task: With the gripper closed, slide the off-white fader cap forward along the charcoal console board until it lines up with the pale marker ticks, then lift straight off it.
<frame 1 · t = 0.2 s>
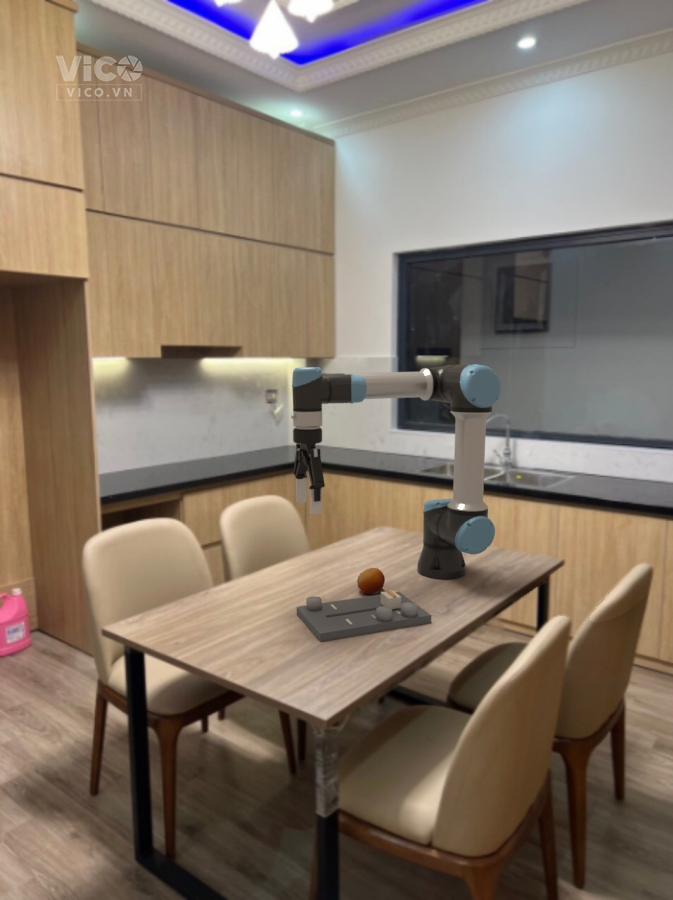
hand: (308, 507, 170), 28 cm above the table, fingers open, 13 cm apart
console: (362, 618, 167), on the table
fader: (390, 598, 169), point 4 cm above the table, slide at 0.0 cm
fruit: (370, 592, 186), on the table
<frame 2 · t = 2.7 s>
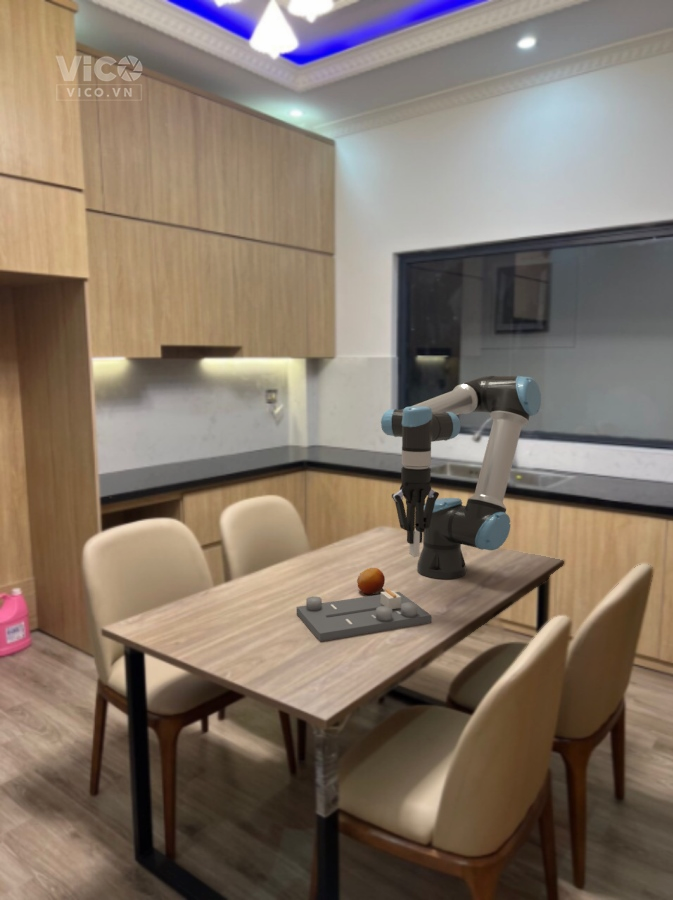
hand: (414, 555, 170), 15 cm above the table, fingers closed
nothing on the table moved.
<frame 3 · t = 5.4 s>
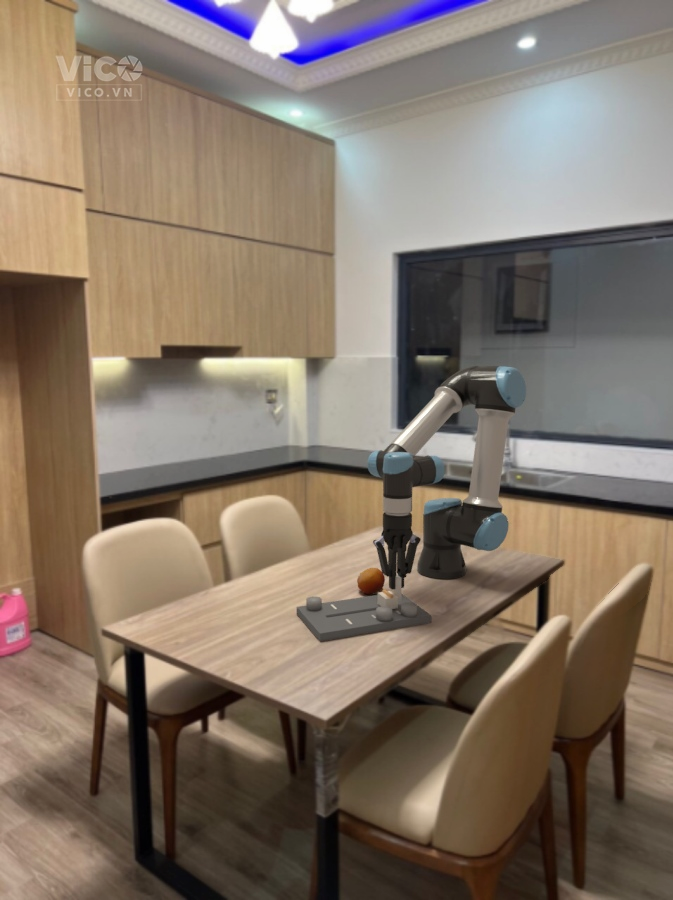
hand: (396, 600, 170), 4 cm above the table, fingers closed
fader: (387, 599, 169), point 4 cm above the table, slide at 0.9 cm, touching gripper
everything else where it was.
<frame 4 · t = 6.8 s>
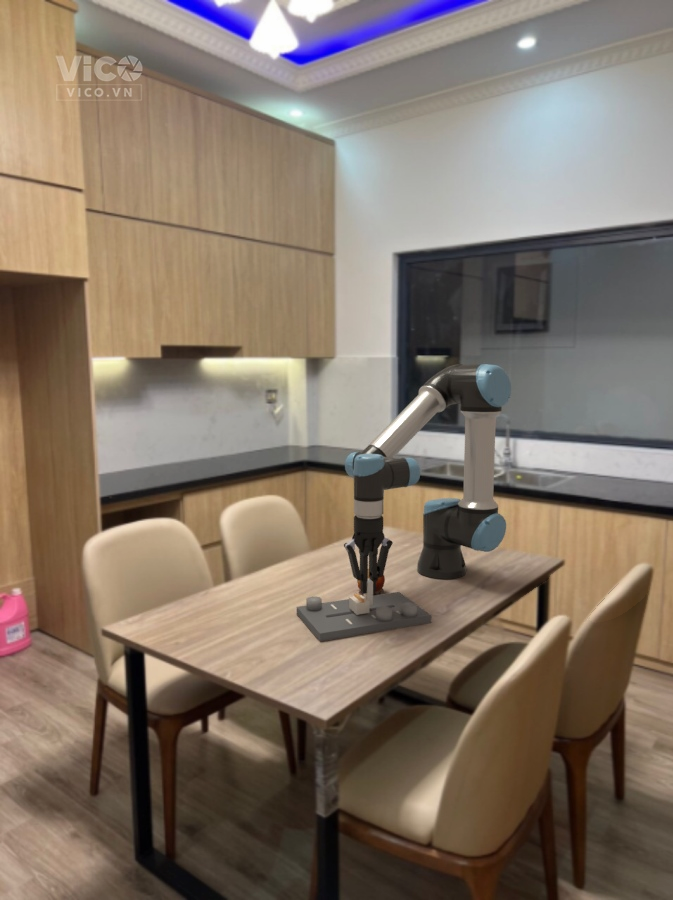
hand: (368, 604, 167), 4 cm above the table, fingers closed
fader: (359, 603, 166), point 4 cm above the table, slide at 9.0 cm, touching gripper
everything else where it was.
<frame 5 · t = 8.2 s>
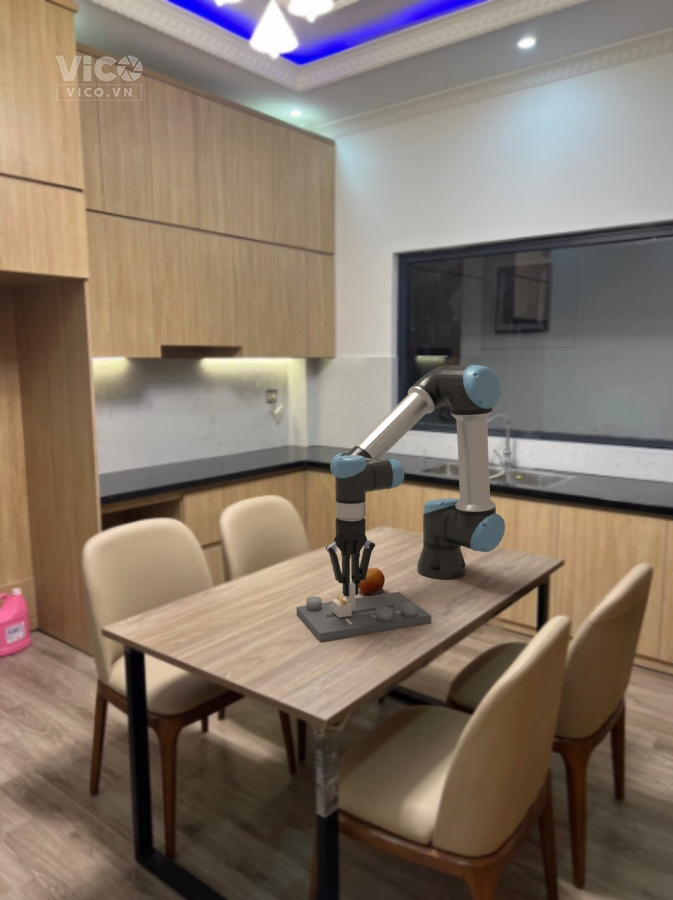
hand: (350, 607, 165), 3 cm above the table, fingers closed
fader: (341, 606, 164), point 4 cm above the table, slide at 13.9 cm, touching gripper
everything else where it was.
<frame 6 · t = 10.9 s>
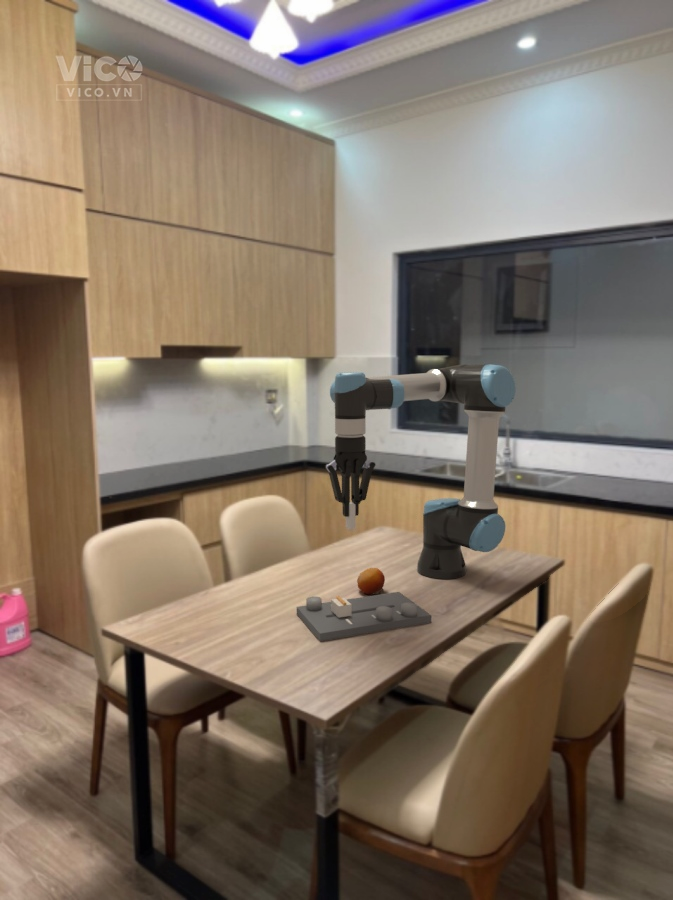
hand: (350, 528, 162), 24 cm above the table, fingers closed
fader: (341, 606, 164), point 4 cm above the table, slide at 13.9 cm
everything else where it was.
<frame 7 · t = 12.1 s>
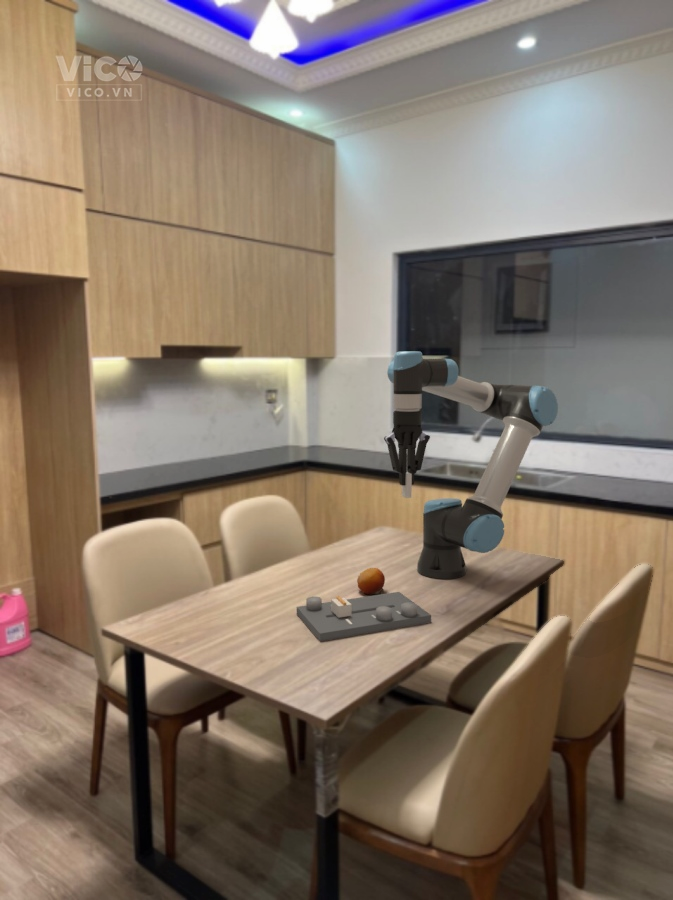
hand: (406, 496, 175), 29 cm above the table, fingers closed
nothing on the table moved.
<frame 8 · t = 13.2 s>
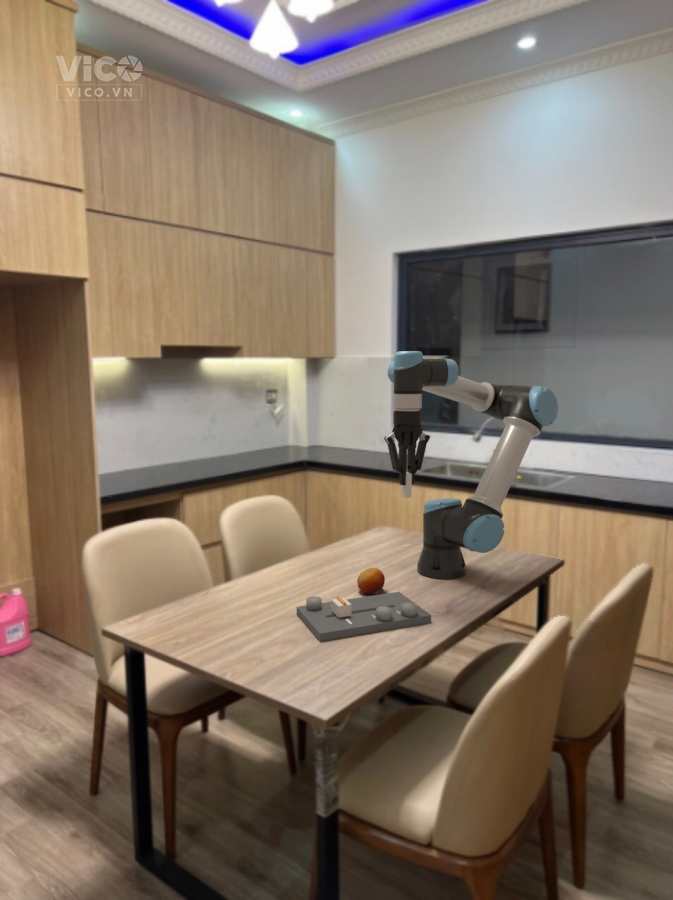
hand: (406, 496, 175), 29 cm above the table, fingers closed
nothing on the table moved.
at the end: fader slide at 13.9 cm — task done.
